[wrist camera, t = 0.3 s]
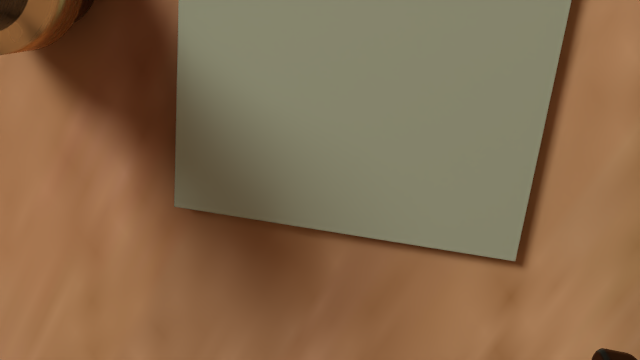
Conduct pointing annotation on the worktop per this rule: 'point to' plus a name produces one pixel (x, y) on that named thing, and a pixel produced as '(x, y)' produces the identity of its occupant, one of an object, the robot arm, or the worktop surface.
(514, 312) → the worktop surface
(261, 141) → the mat
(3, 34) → the dark brown cylinder
